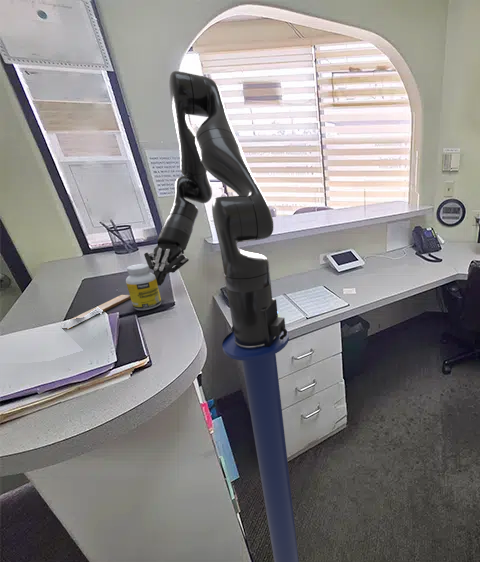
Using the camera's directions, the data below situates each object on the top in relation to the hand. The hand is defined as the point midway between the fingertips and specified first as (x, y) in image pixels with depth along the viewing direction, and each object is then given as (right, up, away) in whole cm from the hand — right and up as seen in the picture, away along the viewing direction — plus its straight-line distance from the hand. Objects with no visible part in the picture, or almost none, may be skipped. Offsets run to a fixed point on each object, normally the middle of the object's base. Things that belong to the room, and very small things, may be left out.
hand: (155, 284), depth 88 cm
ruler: (-11, -7, -6) cm, 14 cm away
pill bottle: (-1, -6, -2) cm, 7 cm away
